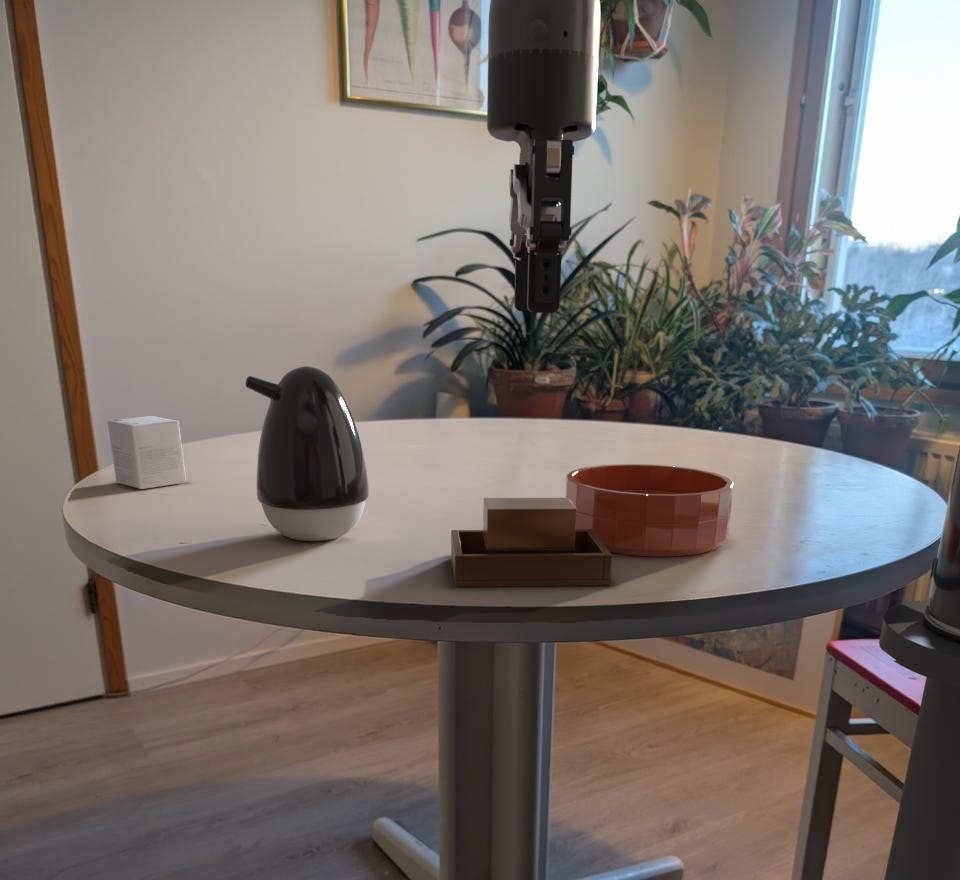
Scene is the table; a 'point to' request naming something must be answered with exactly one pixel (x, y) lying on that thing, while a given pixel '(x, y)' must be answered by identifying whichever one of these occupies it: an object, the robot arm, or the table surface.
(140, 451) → the product carton
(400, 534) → the table surface
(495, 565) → the tray
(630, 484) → the bowl
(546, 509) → the eraser
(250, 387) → the pump dispenser
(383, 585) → the table surface
